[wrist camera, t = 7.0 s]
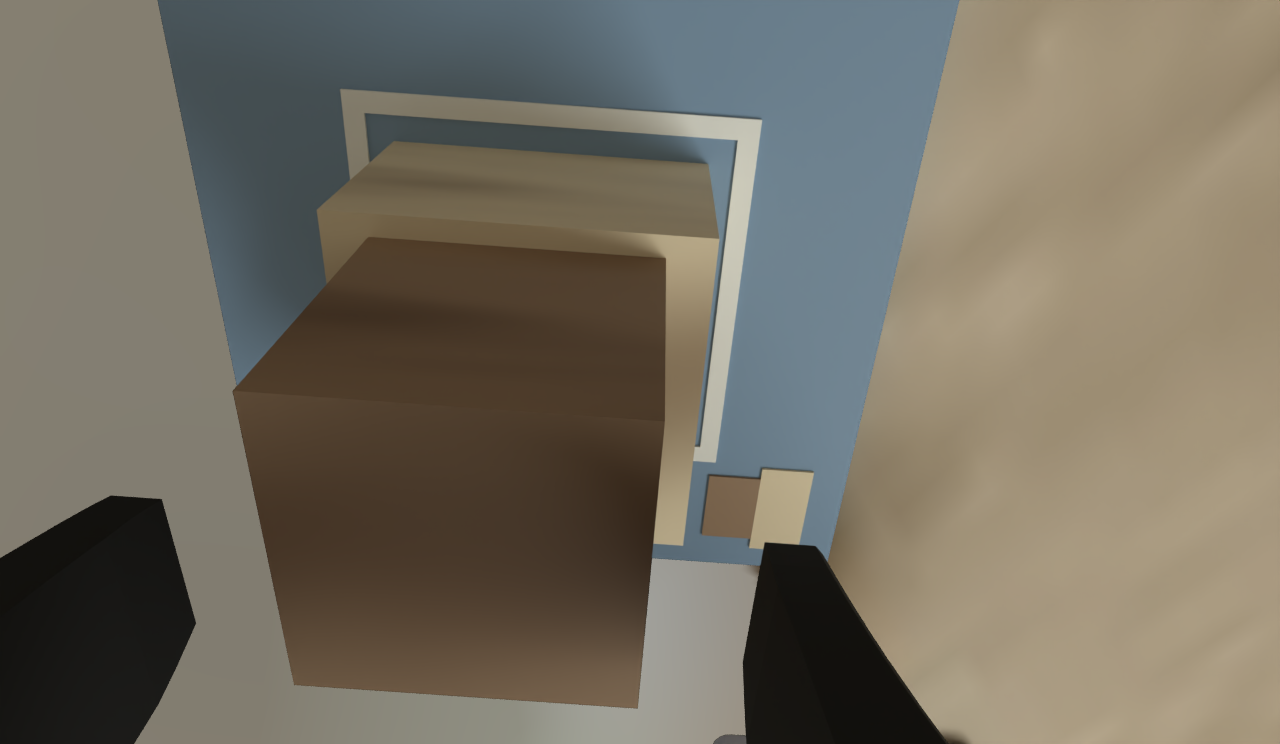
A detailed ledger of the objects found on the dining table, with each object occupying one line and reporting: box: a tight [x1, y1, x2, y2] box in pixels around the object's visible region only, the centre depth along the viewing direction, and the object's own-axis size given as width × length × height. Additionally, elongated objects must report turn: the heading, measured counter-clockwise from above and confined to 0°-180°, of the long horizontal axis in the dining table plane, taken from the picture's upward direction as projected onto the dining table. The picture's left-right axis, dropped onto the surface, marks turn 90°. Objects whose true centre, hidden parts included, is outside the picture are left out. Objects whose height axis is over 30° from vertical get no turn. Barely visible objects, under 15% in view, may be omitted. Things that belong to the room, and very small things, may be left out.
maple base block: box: [317, 141, 719, 546], centre depth 16 cm, size 6×6×4 cm
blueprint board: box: [158, 0, 959, 566], centre depth 18 cm, size 14×14×1 cm
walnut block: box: [233, 237, 666, 708], centre depth 12 cm, size 4×4×4 cm
